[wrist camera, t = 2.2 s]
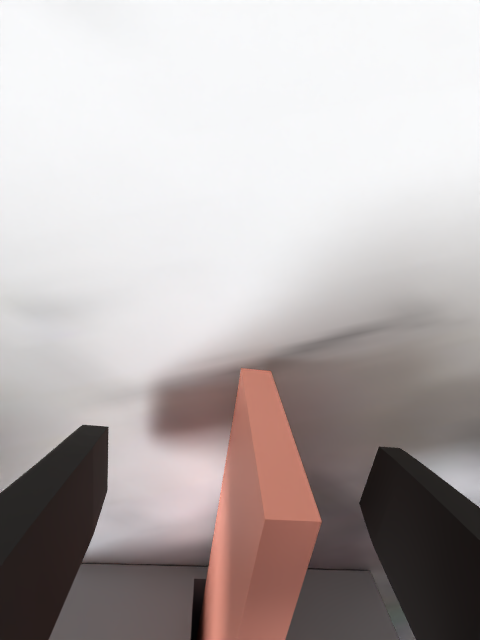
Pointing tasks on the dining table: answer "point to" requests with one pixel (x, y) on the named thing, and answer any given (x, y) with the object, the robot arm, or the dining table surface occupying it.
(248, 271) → the dining table surface
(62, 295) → the dining table surface
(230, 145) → the dining table surface
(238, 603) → the salmon pink plank
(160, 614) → the grey slotted box
